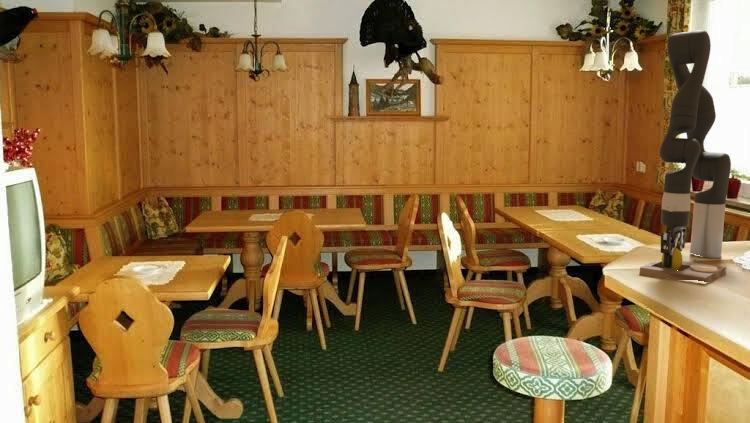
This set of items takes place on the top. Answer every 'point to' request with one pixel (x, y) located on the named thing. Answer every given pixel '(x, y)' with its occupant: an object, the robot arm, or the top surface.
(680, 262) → the lemon
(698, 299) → the top surface
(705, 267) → the saucer
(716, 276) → the pocket board
